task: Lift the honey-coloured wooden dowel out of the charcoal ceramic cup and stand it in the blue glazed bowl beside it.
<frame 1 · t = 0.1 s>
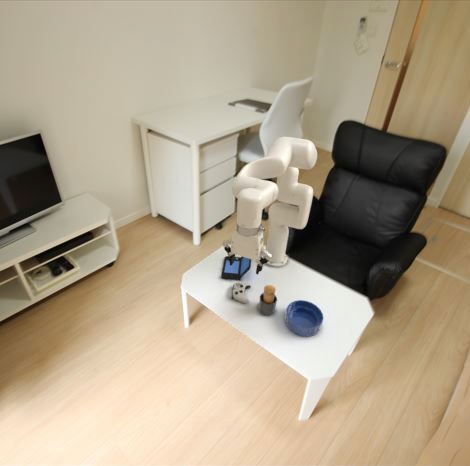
hand: (245, 267, 109), 31 cm above the table, tool pointing down, fingers open, 9 cm apart
bowl: (302, 322, 127), on the table
cup: (266, 309, 133), on the table
game console: (236, 269, 153), on the table
gaming controller: (240, 294, 140), on the table
dowel: (266, 308, 133), resting on cup
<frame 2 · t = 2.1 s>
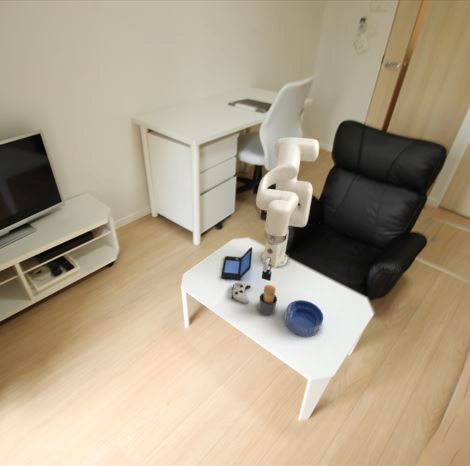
hand: (270, 271, 119), 23 cm above the table, tool pointing down, fingers open, 9 cm apart
nothing on the table moved.
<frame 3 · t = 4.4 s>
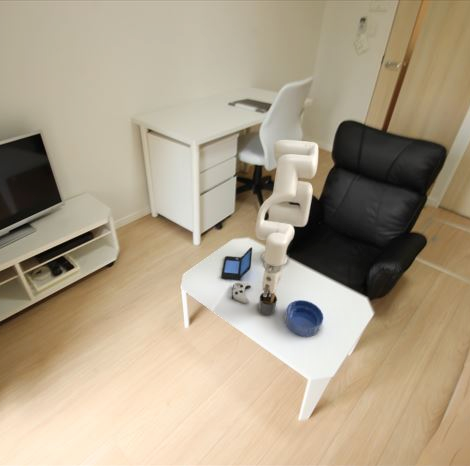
hand: (268, 296, 128), 8 cm above the table, tool pointing down, fingers closed on dowel, 4 cm apart
dowel: (266, 308, 133), point 1 cm above the table, touching cup, gripper
everything else where it was.
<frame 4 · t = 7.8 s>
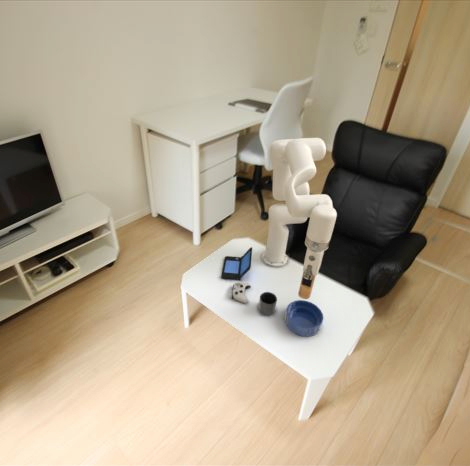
hand: (307, 280, 114), 23 cm above the table, tool pointing down, fingers closed on dowel, 4 cm apart
dowel: (304, 294, 119), point 16 cm above the table, touching gripper
everything else where it was.
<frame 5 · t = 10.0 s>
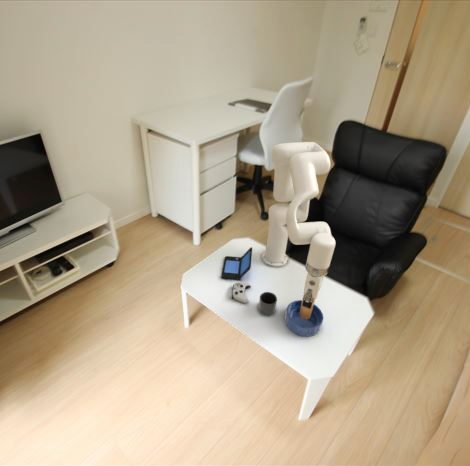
hand: (308, 301, 120), 13 cm above the table, tool pointing down, fingers closed on dowel, 4 cm apart
dowel: (304, 314, 124), point 5 cm above the table, touching gripper
everything else where it was.
when the fingers open (8 cm above the table, at t = 11.5 s): dowel stays where it is, resting on bowl.
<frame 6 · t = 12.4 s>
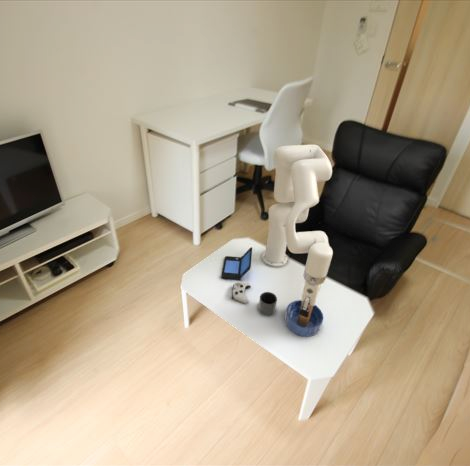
hand: (306, 306, 122), 10 cm above the table, tool pointing down, fingers open, 9 cm apart
dowel: (302, 322, 127), resting on bowl
everything else where it was.
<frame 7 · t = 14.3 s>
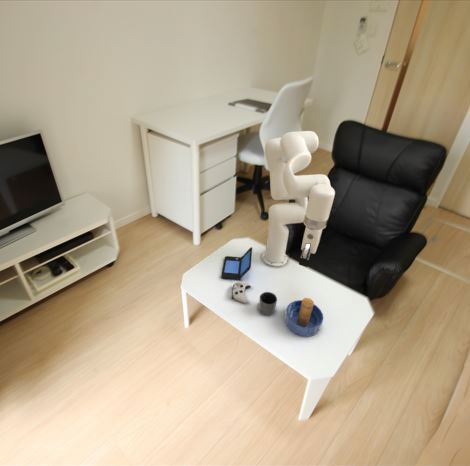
hand: (306, 257, 117), 28 cm above the table, tool pointing down, fingers open, 9 cm apart
nothing on the table moved.
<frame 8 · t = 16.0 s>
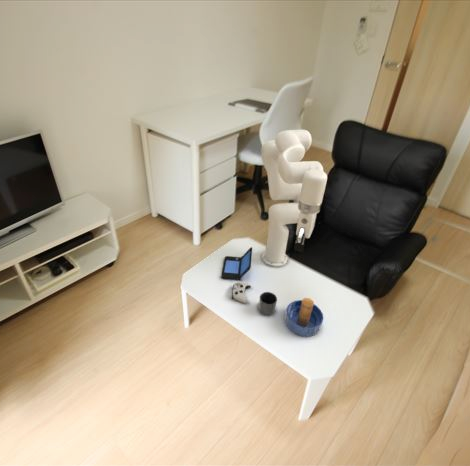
hand: (301, 243, 120), 30 cm above the table, tool pointing down, fingers open, 9 cm apart
nothing on the table moved.
at the end: dowel inside the target area in the bowl (0.1 cm from its centre), point 0.5 cm above the bowl's base; dowel tilted 0°; the gripper is holding nothing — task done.
